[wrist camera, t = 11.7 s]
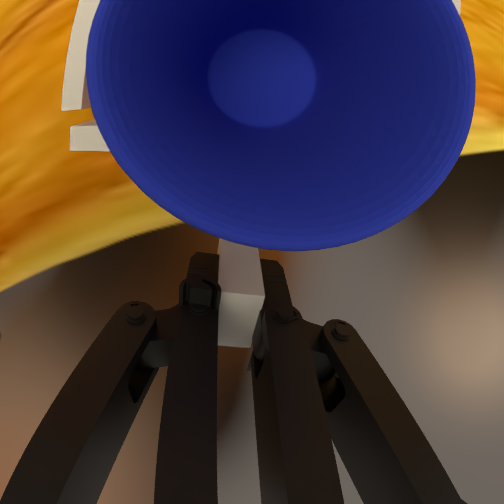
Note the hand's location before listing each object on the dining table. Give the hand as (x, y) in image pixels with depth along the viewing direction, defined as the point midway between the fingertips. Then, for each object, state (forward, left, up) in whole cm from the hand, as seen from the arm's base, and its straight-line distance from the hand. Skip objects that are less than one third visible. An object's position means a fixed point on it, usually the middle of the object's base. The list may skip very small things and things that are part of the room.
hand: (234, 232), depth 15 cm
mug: (0, +10, -2) cm, 10 cm away
